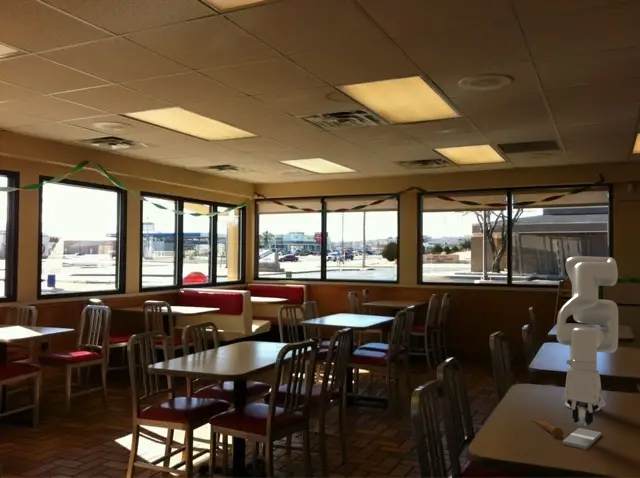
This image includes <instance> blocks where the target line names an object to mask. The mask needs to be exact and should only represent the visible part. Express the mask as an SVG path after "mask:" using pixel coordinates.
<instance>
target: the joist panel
mask: <svg viewBox="0 0 640 478" xmlns="http://www.w3.org/2000/svg"><path fill="white" fill-rule="evenodd" d="M601 436H602V432H601V431H597V430H596V431H595V430H591V429H588V428H583V427H578V428H577V429H575V430H574V431H573V432H571V433H570V435H568V436H567V437H565V438H564V439H563V440H562V445H564V446H565V445H566V446H570V447H575V448H577V447H578V449H581V450H587V449H589V448H590V447H591V446H592V445H593V444H594V443H595V442H596V441H597V440H598V439H599V438H601Z"/></svg>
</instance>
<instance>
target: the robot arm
mask: <svg viewBox="0 0 640 478" xmlns="http://www.w3.org/2000/svg"><path fill="white" fill-rule="evenodd" d="M565 270H566V273H567V276H568V277H569V281H570V282H571V298H570V299H568V300H567V302H565V303H564V304H563V305H562V307H561V308H560V310H559V311H558V313H557V318H556V320H557V321H556V340H557V341H558V343H559V344H561V345H563V346H569V359H567V360H566V364H567V365H569V367H568V368H567V372H566V378H565V379H566V380H565V388H564V392H563V394H562V396H561V397H560V398H561V399H562V400H563V401H564V405H565V406H566V407H567V408H568V409H571V410H572V419H573V423H577V410H578V402H584V403H588V412H587V425H588V426H590V425H591V424H592V423H593V422H594V412H599V411H600V410H601V409H602V408H603V407H605V406H606V402H605V400H604V398H603V396H602V384H601V376H600V372H599V371H598V370H597V368H598V367H597V366H598V365H597V364H598V360H597V359H598V358H597V357H598V353H603V354H604V353H605V354H613V353H615V352H616V351H617V349H618V346H619V308H618V305H617V303H616V302H614V301H613V300H609V299H599V286H601V287H602V286H603V287H604V286H607V287H613V286H615V285H616V284H617V282H618V277H619V272H618V266H617V262H616V260H615V258H613V257H610V256H592V255H591V256H590V255H589V256H586V255H583V256H582V255H581V256H580V255H579V256H577V255H575V256H570V257H568V258H567V259H566V260H565ZM570 316H572V317H573V320H574V321H575V322H577V323H571V322H569V323H567V319H568V317H570ZM598 325H603V326H604V327H600V326H598Z"/></svg>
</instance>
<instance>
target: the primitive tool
mask: <svg viewBox="0 0 640 478" xmlns="http://www.w3.org/2000/svg"><path fill="white" fill-rule="evenodd" d="M531 422H533V423H534V424H536V425H538V426H539V427H541V428H542V429H544V430H545V431H546V432H549V434H552V437H553V438H554V439H555V438H556V439H561V438H563V437H564V431H563V430H562V428H560V427H555V426H554V424H551V423H550V421H549V420H547V419H546V418H545V419H543V418H541V419H531Z"/></svg>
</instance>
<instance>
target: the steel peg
mask: <svg viewBox="0 0 640 478" xmlns="http://www.w3.org/2000/svg"><path fill="white" fill-rule="evenodd" d="M587 412H588V403H584V402H578V410H577V422H576V425H577V426H580V427H589V425H587Z"/></svg>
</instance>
